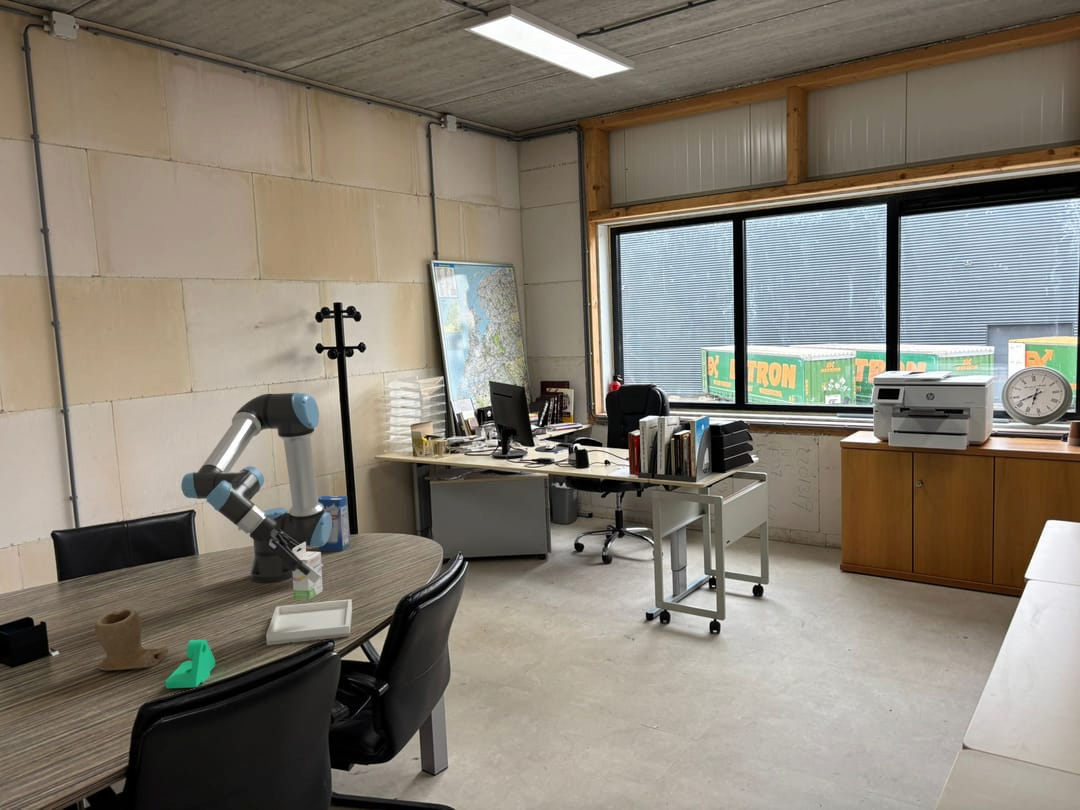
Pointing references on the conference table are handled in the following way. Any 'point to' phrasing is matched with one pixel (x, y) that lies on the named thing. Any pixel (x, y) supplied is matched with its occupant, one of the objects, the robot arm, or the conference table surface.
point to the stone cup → (125, 642)
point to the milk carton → (336, 522)
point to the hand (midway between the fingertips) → (319, 574)
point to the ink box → (302, 584)
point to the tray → (310, 622)
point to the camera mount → (193, 666)
